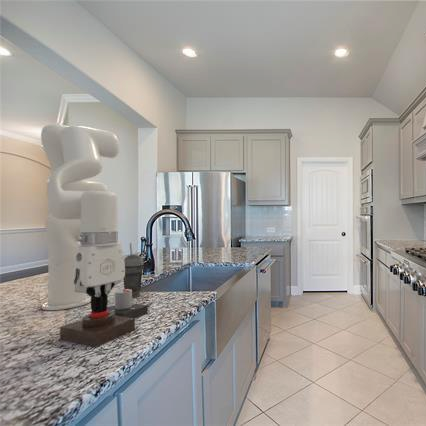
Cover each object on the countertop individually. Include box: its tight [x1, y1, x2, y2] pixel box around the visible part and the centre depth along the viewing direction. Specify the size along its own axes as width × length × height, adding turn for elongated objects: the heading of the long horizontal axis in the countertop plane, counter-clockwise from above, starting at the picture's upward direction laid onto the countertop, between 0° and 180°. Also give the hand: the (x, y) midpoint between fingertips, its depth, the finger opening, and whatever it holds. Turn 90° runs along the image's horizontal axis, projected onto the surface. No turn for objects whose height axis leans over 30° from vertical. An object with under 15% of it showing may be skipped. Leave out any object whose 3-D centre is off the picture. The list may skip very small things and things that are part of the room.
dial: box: [114, 288, 133, 310], centre depth 86 cm, size 4×4×5 cm
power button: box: [89, 309, 108, 318], centre depth 72 cm, size 4×4×2 cm
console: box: [107, 302, 149, 319], centre depth 86 cm, size 10×8×3 cm
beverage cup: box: [122, 242, 145, 299], centre depth 106 cm, size 7×7×20 cm
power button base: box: [59, 311, 136, 348], centre depth 72 cm, size 12×10×5 cm
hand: (99, 310), depth 72 cm, fingers closed
